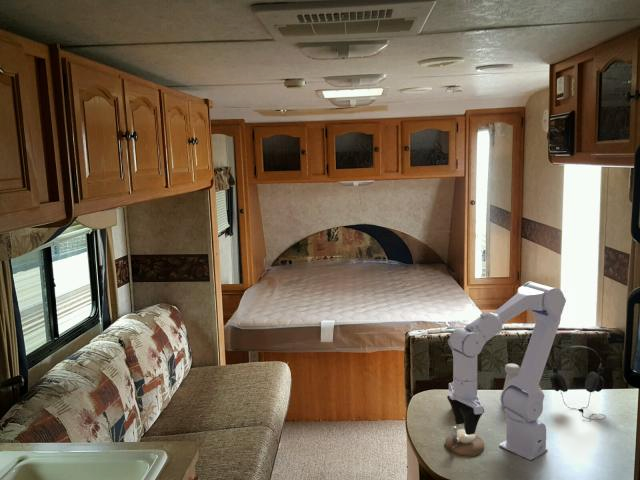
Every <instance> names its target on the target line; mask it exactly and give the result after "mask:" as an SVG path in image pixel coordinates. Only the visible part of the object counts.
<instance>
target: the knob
mask: <svg viewBox="0 0 640 480" xmlns="http://www.w3.org/2000/svg"><path fill="white" fill-rule="evenodd" d="M451 434H452V443H453V444H457V442H459V441H460V442H465V443H468V442H473V441H474V440H475V438H476V436H477V435H476V433H475V434H471V435H467V434H466V432H465V428H459V429H458V427H457V426H456V425H452V426H451Z"/></svg>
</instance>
